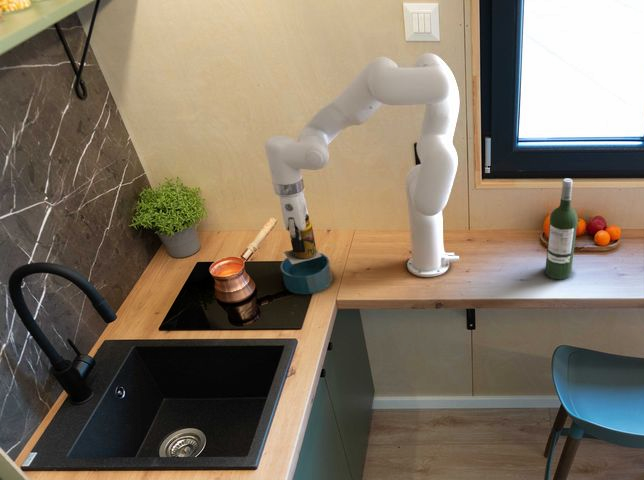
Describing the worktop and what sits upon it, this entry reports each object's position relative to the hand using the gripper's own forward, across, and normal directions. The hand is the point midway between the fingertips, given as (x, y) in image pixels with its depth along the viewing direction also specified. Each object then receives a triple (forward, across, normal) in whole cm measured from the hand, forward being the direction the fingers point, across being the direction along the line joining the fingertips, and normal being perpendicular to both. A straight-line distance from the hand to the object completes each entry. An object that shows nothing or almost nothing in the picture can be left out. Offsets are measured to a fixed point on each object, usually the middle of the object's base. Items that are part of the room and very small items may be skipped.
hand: (300, 244), depth 167 cm
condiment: (+3, 0, 0) cm, 3 cm away
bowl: (+12, 0, 0) cm, 12 cm away
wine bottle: (+12, -2, -74) cm, 75 cm away
